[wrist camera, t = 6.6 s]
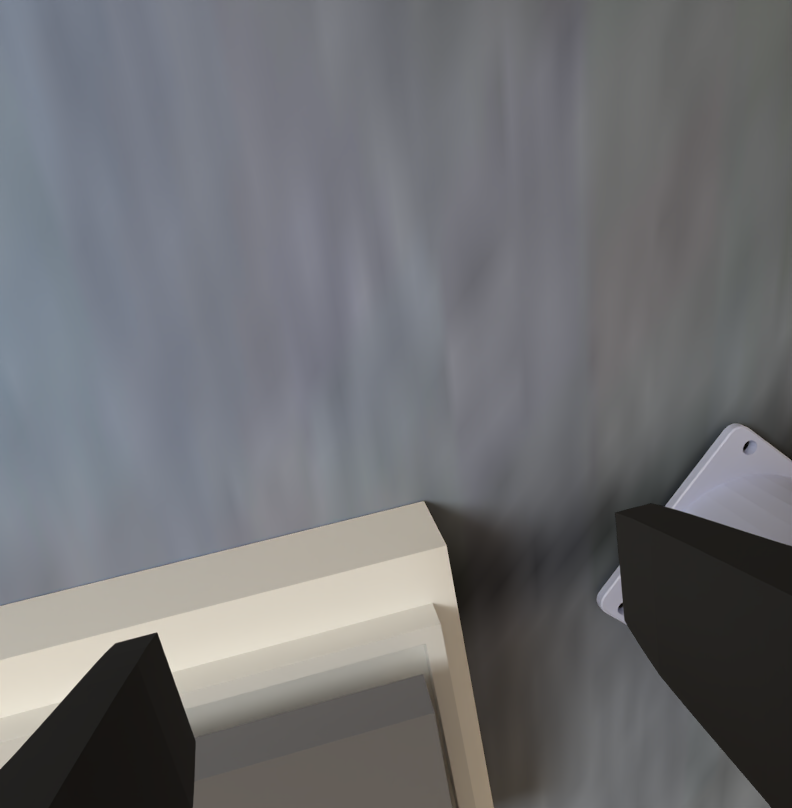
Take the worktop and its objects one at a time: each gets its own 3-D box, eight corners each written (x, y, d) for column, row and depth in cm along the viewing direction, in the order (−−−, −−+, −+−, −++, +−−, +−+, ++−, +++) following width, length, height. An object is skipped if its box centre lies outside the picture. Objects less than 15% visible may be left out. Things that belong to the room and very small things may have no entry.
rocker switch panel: (424, 501, 21) (455, 563, 17) (476, 781, 25) (512, 884, 21) (-432, 713, 18) (-619, 843, 14) (-230, 993, 22) (-337, 1156, 18)
